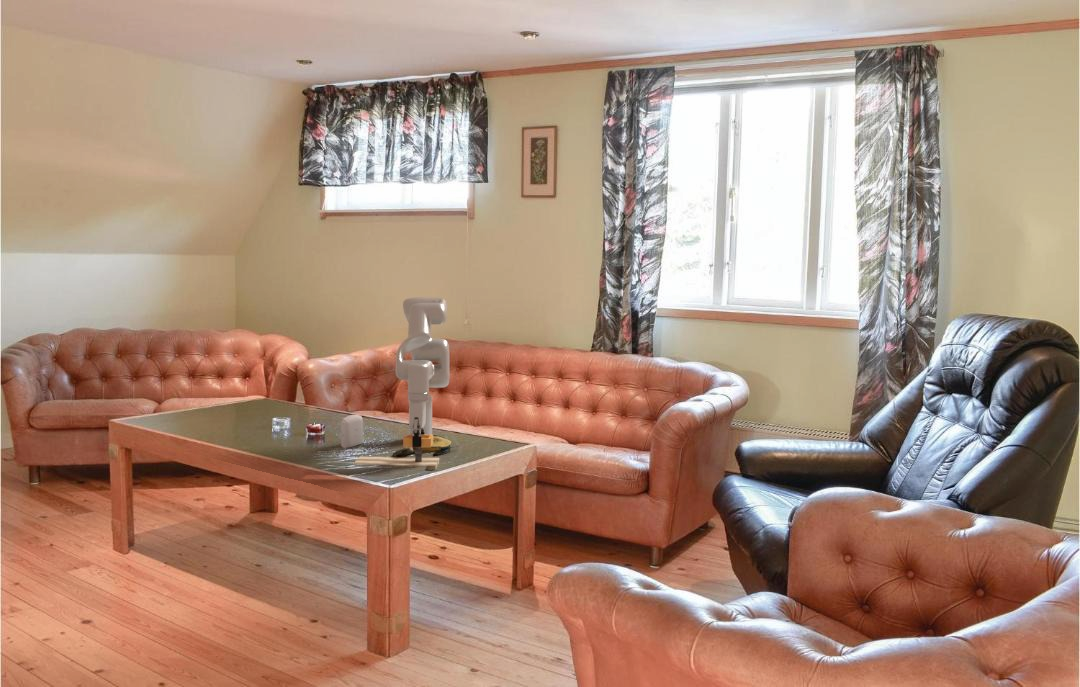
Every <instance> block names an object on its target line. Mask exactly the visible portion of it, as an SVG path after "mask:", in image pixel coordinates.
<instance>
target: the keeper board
mask: <svg viewBox="0 0 1080 687" xmlns="http://www.w3.org/2000/svg"><path fill="white" fill-rule="evenodd" d="M414 452H415V453H414V457H413V456H399V457H393V456H359V457H358V458H357V459H355V461H354V462H353V463H352V465H354V466H356V465H361V466H415V467H417V466H419V467H420V466H422V467H423V466H424V467H426V468H424V469H425V470H428V471H429V470H431V471H432V470H433V471H435V470H437V467H438V465H439V463H440V457H423V453H422V452H423V450H422V448H421V447H416V448H415V450H414Z"/></svg>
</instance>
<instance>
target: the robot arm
mask: <svg viewBox="0 0 1080 687" xmlns="http://www.w3.org/2000/svg"><path fill="white" fill-rule="evenodd" d="M402 310H403V313H404V316H405V318H406V320H407V322H408V330H407V331H408V332H407V333H408V335H407V337H406V339H404V340H403V341H402V343H401V344H400V345H399V347H398V348H397V350H396V354H395V376H396V378H397V379H398V380H401V381H407V401H408V434H413V436H412V446H413V447H421V435H433V397H432V395H431V394H430V391H429V390H430V388H437V389H439V388H446V387H447V386H449V385H450V384H449V383H450V378H451V375H450V363H451V362H450V359H451V358H450V345H449V342H448V341H447V340H446V339H445V338H439V337H438V338H435V337H434V338H432V326H431V325H444V324H445V323H446V321H447V318H448V316H447V315H448V305H447V301H446V300H445V299H444V298H442V297H409V298H408V297H407V298H406V299H404V300H403V302H402ZM408 353H410V358H411V359H404V357H405V356H406V355H407V354H408ZM434 362H436V363H438V364H433V363H434Z"/></svg>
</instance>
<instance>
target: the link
mask: <svg viewBox="0 0 1080 687" xmlns="http://www.w3.org/2000/svg"><path fill="white" fill-rule="evenodd" d="M433 435H434V434H432V435H421V447H426V448H431V446H432V445H433ZM412 436H413V434H409V433H408V434H407V433H406V434H405V436H403V438H402V439H403V440H402V446H403V448H408V447H413V446H412Z"/></svg>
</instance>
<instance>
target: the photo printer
mask: <svg viewBox="0 0 1080 687" xmlns="http://www.w3.org/2000/svg"><path fill="white" fill-rule="evenodd" d="M363 443H364V419H363V417H362V416H361V415H360V414H350V415H347V416H345V417H344V418H343V419H342V420H341V421H340V445H341V447H342V448H344V449H345V448H346V449H347V448H351V447H355V446H359V445H362V444H363Z"/></svg>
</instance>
